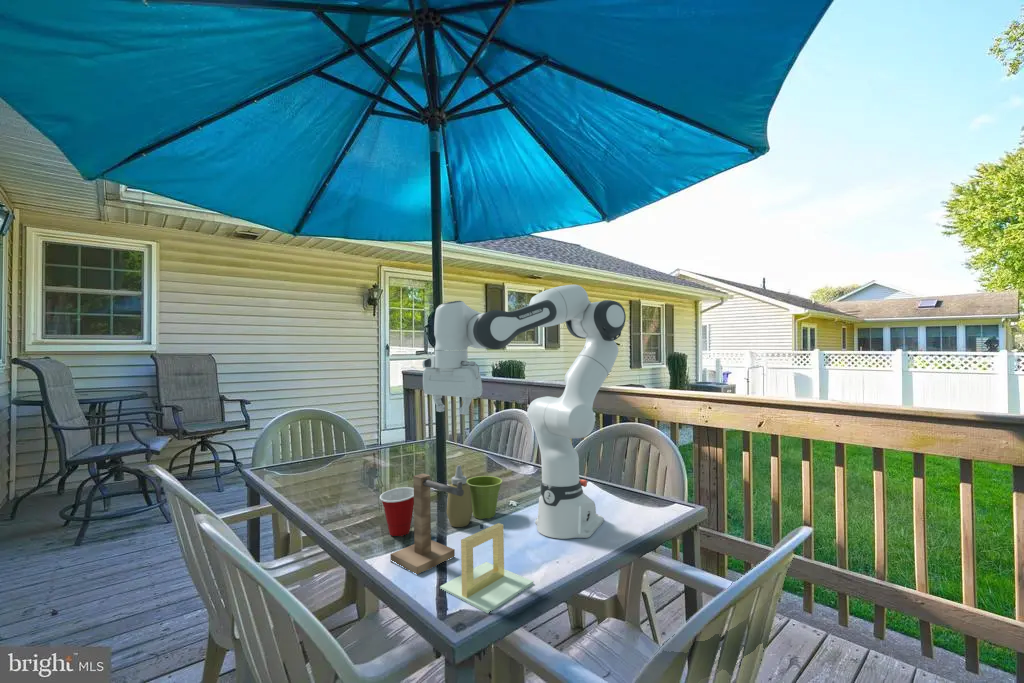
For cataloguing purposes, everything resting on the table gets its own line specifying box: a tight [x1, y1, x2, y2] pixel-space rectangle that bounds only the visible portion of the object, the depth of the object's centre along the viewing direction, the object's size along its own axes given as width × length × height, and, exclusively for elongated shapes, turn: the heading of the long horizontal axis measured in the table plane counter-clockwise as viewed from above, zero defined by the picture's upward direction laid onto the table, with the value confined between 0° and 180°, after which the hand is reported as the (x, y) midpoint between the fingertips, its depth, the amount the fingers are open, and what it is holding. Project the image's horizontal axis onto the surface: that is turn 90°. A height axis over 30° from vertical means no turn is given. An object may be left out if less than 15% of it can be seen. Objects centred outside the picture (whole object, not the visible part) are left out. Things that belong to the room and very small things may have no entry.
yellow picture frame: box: [460, 522, 505, 598], centre depth 101 cm, size 12×2×12 cm, turn 139°
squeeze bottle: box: [446, 464, 473, 528], centre depth 138 cm, size 8×8×18 cm
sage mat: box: [439, 561, 534, 614], centre depth 102 cm, size 15×15×1 cm
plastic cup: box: [379, 486, 414, 537], centre depth 132 cm, size 11×11×12 cm
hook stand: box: [390, 473, 464, 575], centre depth 112 cm, size 12×20×22 cm, turn 49°
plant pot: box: [466, 475, 503, 520], centre depth 145 cm, size 12×12×11 cm
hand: (452, 412), depth 120 cm, fingers open, 8 cm apart
